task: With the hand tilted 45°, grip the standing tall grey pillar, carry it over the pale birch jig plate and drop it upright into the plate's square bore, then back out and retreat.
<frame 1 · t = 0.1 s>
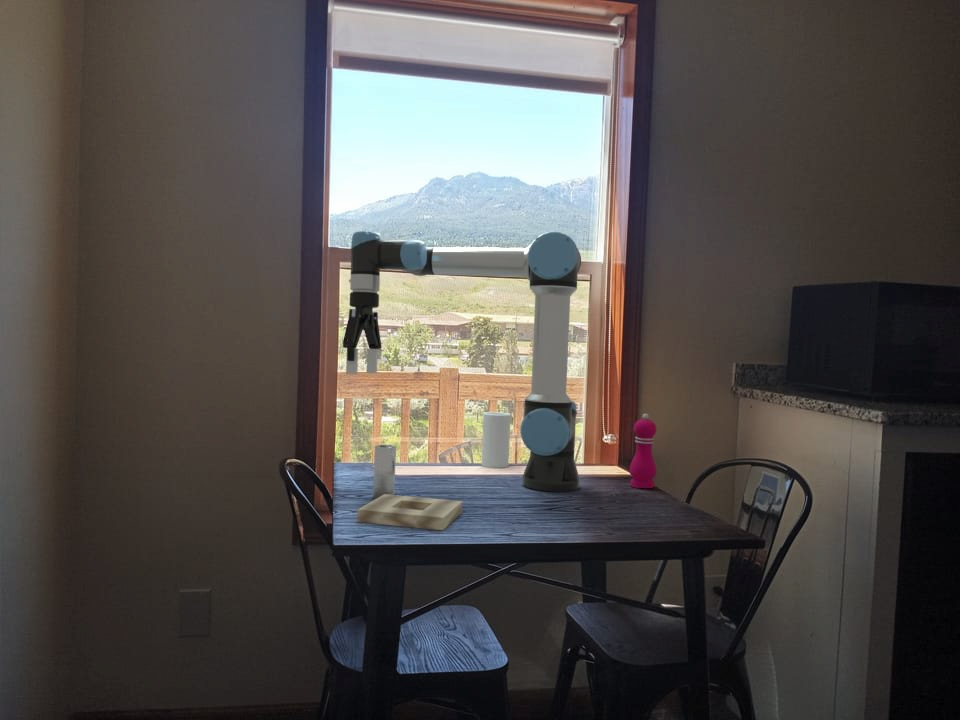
hand: (362, 373, 190), 28 cm above the table, tool pointing down, fingers open, 13 cm apart
cup: (494, 466, 222), on the table
jig: (411, 516, 154), on the table
pepper mill: (642, 487, 198), on the table
tall grey pillar: (383, 497, 172), on the table
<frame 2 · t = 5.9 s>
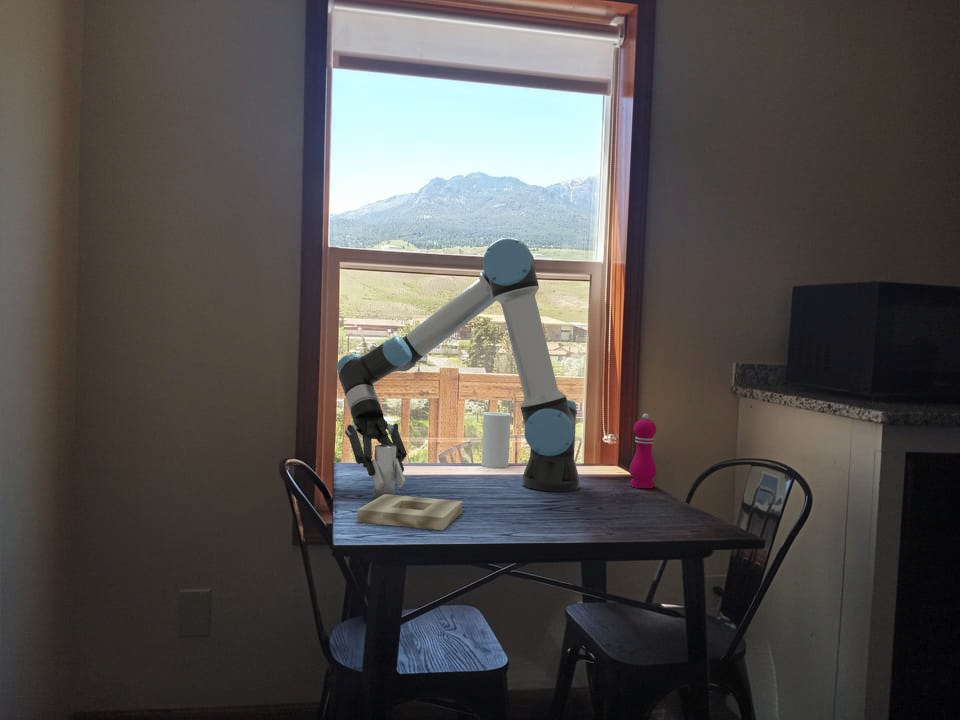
hand: (391, 485, 169), 3 cm above the table, tool tilted 45°, fingers closed on tall grey pillar, 5 cm apart
tall grey pillar: (383, 496, 172), on the table, touching gripper
everything else where it was.
when the fingers open (6 cm above the table, at t = 11.3 s): tall grey pillar drops 3 cm, resting in jig.
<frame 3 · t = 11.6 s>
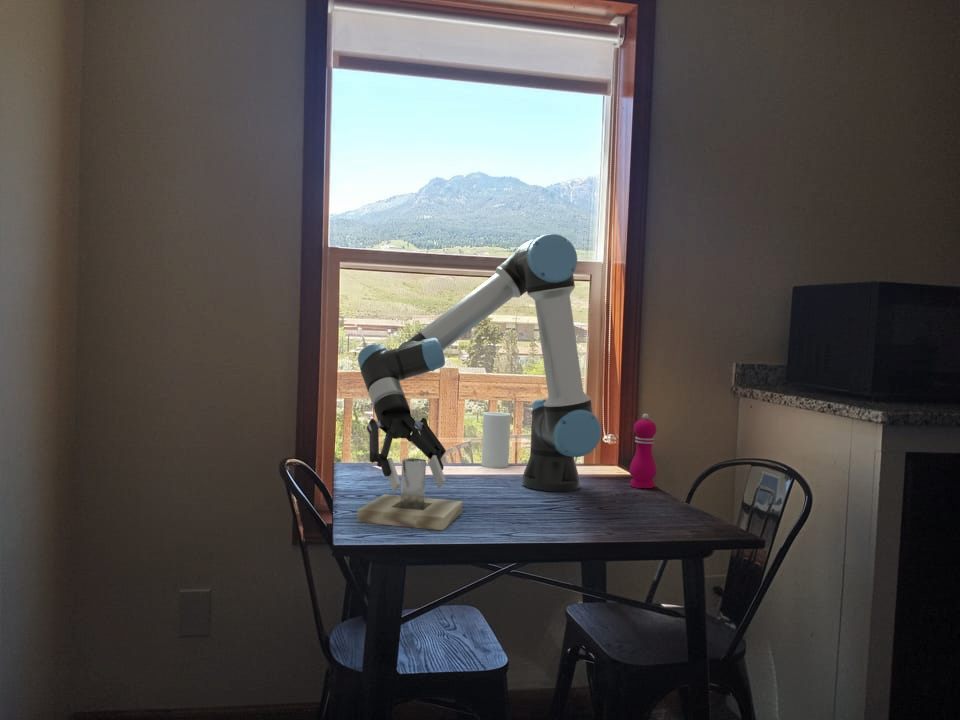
hand: (419, 485, 151), 7 cm above the table, tool tilted 45°, fingers open, 10 cm apart
tall grey pillar: (411, 516, 154), resting in jig
everything else where it was.
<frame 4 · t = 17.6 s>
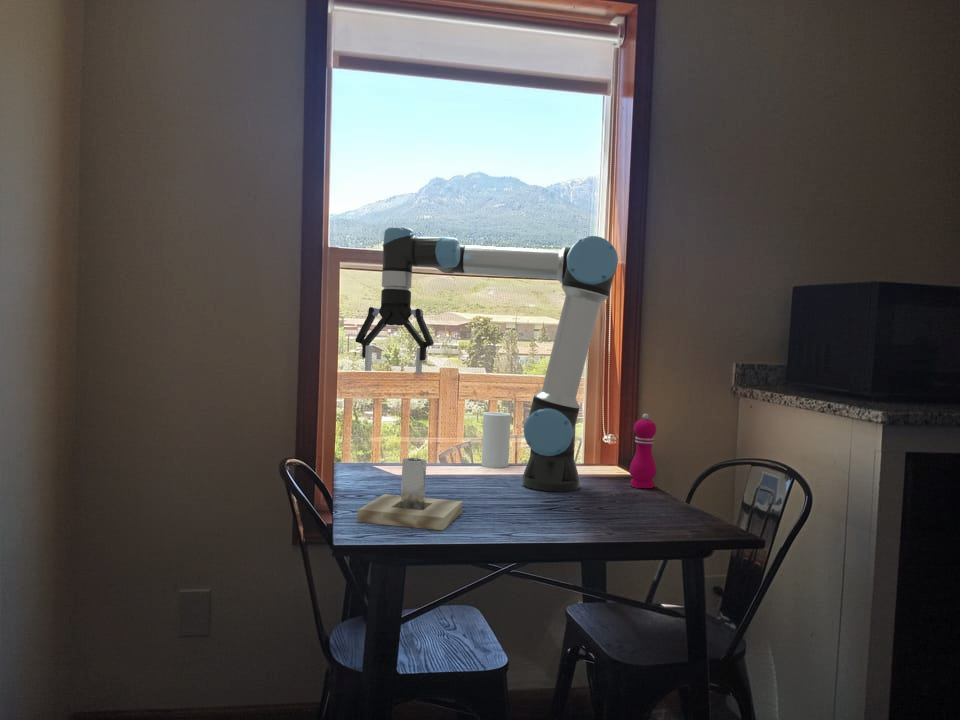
hand: (393, 372, 187), 29 cm above the table, tool pointing down, fingers open, 13 cm apart
nothing on the table moved.
at the end: tall grey pillar 0.1 cm off-centre on the jig, point 0.0 cm above the jig's base; tall grey pillar tilted 1°; the gripper is holding nothing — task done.
